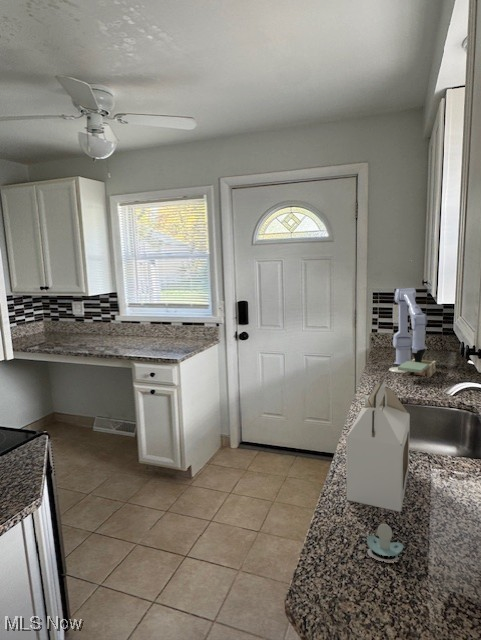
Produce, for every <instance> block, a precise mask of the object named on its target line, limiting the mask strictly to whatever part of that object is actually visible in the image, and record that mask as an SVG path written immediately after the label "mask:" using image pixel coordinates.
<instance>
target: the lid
mask: <svg viewBox="0 0 481 640" xmlns="http://www.w3.org/2000/svg"><path fill="white" fill-rule="evenodd" d="M397 367H398V370H402V371H410V372H412V373H414V372H417V373H422V372H423V371H424V370H425V369H427V368H428V367H429V363H420V362H411V361H406V362H404V363H403V364H401V365H398V366H397Z"/></svg>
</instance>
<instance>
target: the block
mask: <svg viewBox="0 0 481 640" xmlns="http://www.w3.org/2000/svg"><path fill="white" fill-rule="evenodd" d="M413 375H415V376H417V375H418V376H422V377H425V376H427V369H425V370H424V371H423V372H422V373H417V372H413Z"/></svg>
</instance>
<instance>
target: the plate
mask: <svg viewBox="0 0 481 640" xmlns="http://www.w3.org/2000/svg"><path fill="white" fill-rule="evenodd" d="M398 367H399V366H395V367H389V369H388V371H389V372H390V373H396V374H407V371H402V370H398Z"/></svg>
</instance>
